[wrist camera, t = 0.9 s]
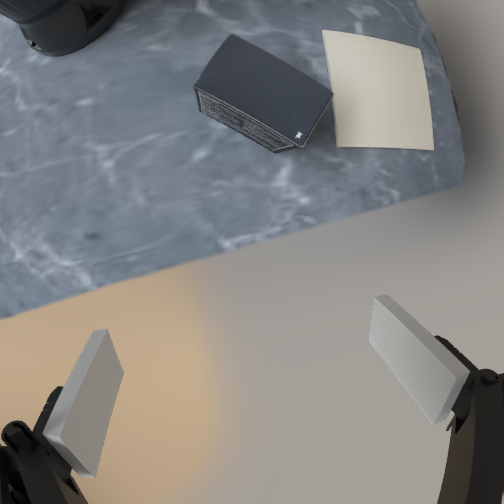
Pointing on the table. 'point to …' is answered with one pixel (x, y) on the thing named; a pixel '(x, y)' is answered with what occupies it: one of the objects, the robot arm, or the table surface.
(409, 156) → the table surface
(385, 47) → the mat
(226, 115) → the small box
